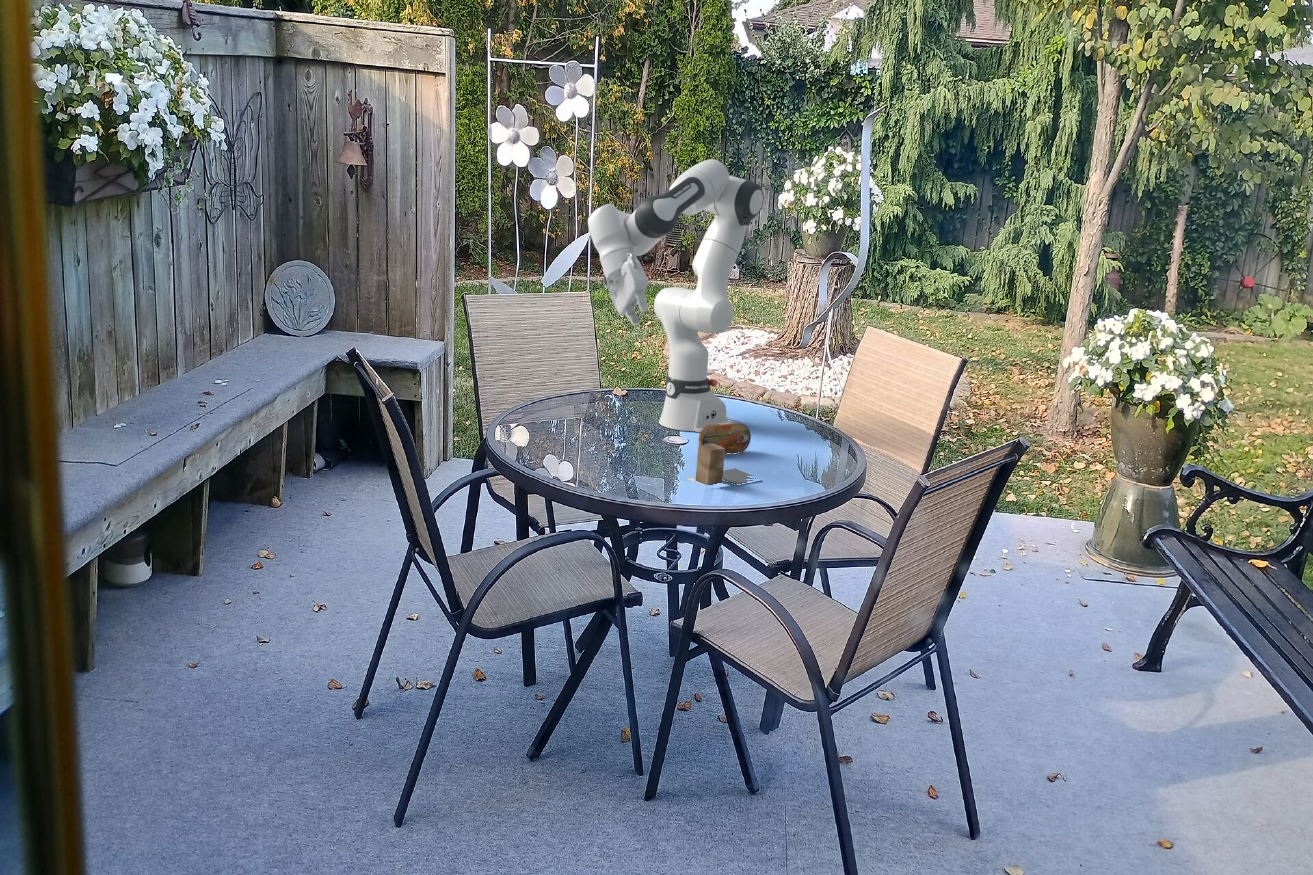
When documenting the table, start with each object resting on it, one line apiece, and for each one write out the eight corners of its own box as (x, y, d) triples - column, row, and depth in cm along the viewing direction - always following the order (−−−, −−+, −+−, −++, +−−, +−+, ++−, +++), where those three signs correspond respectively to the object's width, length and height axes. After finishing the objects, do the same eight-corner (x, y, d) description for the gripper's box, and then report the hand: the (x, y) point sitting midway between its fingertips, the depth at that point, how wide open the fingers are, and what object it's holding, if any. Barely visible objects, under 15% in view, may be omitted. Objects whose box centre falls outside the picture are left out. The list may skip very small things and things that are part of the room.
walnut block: (709, 478, 272) (713, 443, 270) (721, 483, 269) (725, 448, 266) (695, 480, 270) (698, 445, 267) (707, 486, 266) (710, 450, 264)
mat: (735, 470, 281) (735, 468, 281) (761, 481, 273) (762, 479, 273) (709, 474, 276) (709, 472, 275) (735, 486, 268) (735, 484, 268)
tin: (701, 457, 290) (704, 426, 288) (695, 453, 293) (698, 423, 290) (750, 453, 297) (753, 423, 295) (743, 450, 300) (746, 420, 297)
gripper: (642, 246, 264) (662, 299, 262) (624, 279, 284) (643, 328, 282) (617, 253, 263) (637, 305, 260) (602, 285, 282) (620, 334, 280)
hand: (640, 317), depth 271 cm, fingers open, 8 cm apart
